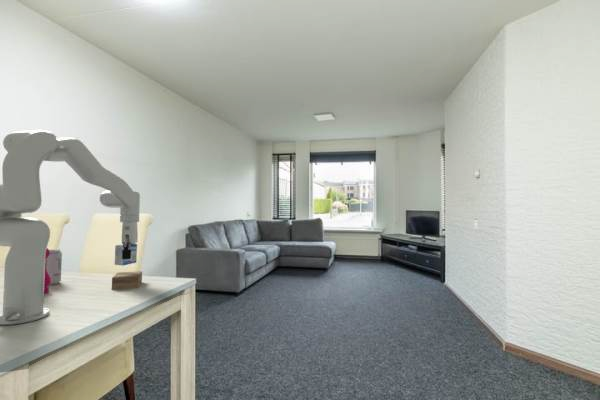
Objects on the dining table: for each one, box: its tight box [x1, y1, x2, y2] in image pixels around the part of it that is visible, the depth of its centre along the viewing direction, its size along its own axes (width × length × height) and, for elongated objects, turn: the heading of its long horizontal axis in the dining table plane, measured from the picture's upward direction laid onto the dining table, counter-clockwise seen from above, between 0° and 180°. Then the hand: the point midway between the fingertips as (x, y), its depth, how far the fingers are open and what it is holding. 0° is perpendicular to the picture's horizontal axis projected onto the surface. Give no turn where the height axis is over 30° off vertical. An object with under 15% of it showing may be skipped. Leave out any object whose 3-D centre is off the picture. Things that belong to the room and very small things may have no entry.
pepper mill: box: [44, 247, 51, 295], centre depth 121 cm, size 7×7×20 cm
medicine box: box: [114, 243, 138, 267], centre depth 134 cm, size 8×4×9 cm, turn 165°
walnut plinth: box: [111, 270, 143, 291], centre depth 134 cm, size 10×10×5 cm
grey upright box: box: [46, 248, 63, 286], centre depth 134 cm, size 6×6×15 cm
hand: (128, 257), depth 134 cm, fingers closed on medicine box, 9 cm apart
